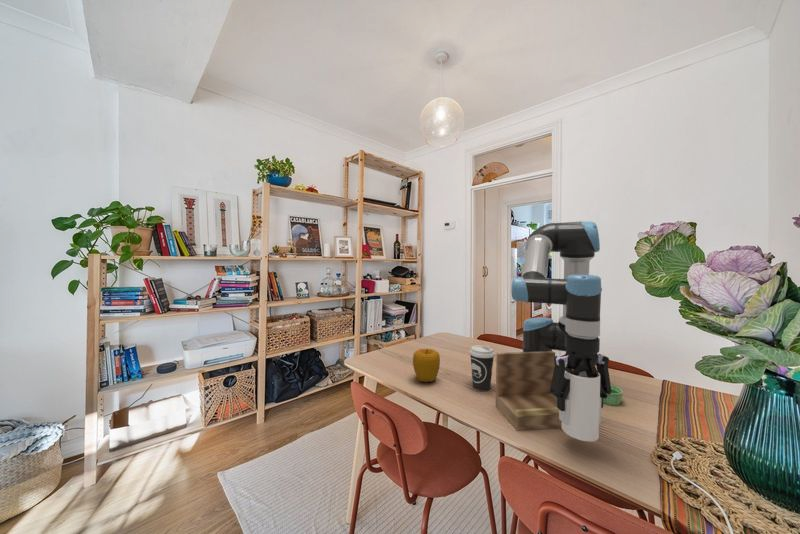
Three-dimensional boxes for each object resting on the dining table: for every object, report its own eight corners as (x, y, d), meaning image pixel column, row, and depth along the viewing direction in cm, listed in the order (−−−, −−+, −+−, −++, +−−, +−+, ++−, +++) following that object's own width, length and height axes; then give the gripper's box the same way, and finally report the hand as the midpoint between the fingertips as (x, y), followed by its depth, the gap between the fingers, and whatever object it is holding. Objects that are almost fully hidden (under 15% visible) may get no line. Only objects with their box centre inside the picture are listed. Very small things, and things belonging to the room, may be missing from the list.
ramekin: (615, 409, 94) (615, 396, 94) (585, 397, 101) (586, 385, 101) (626, 402, 99) (627, 389, 98) (597, 391, 106) (598, 380, 106)
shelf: (551, 403, 97) (552, 351, 97) (580, 426, 84) (582, 365, 83) (495, 406, 95) (496, 352, 94) (516, 430, 82) (518, 368, 81)
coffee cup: (496, 394, 104) (496, 353, 103) (469, 391, 105) (469, 351, 105) (492, 382, 113) (493, 345, 113) (468, 380, 115) (468, 344, 114)
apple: (420, 388, 108) (420, 354, 107) (408, 377, 118) (408, 346, 117) (445, 383, 112) (445, 351, 112) (431, 373, 122) (431, 343, 122)
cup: (564, 437, 72) (565, 375, 71) (559, 419, 79) (560, 363, 79) (603, 444, 69) (605, 380, 68) (593, 425, 77) (595, 367, 76)
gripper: (606, 329, 78) (604, 410, 79) (535, 332, 75) (533, 415, 77) (632, 337, 70) (629, 426, 72) (553, 340, 68) (551, 432, 69)
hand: (579, 420), depth 74 cm, fingers closed on cup, 8 cm apart
